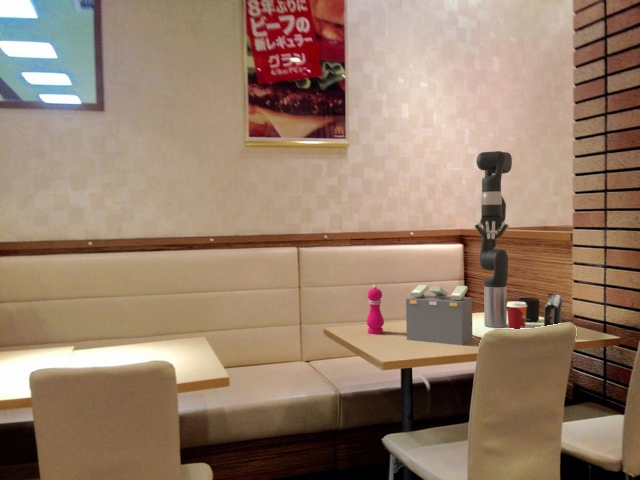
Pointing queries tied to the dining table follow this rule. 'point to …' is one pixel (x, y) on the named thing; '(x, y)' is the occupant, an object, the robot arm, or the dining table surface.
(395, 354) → the dining table surface
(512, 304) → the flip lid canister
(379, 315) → the pepper mill
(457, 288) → the rocker
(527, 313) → the pen holder
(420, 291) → the block
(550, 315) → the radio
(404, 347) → the dining table surface
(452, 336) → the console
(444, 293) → the block
